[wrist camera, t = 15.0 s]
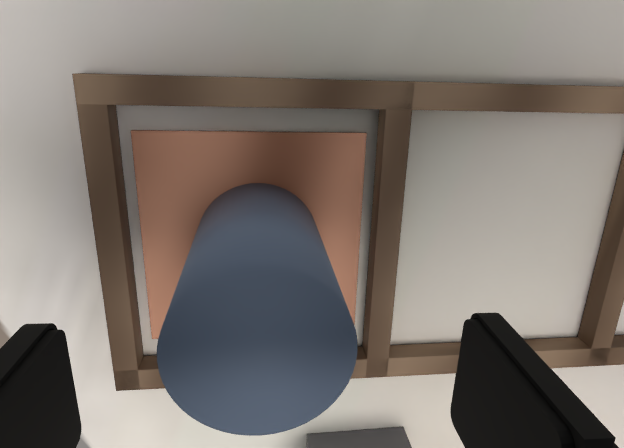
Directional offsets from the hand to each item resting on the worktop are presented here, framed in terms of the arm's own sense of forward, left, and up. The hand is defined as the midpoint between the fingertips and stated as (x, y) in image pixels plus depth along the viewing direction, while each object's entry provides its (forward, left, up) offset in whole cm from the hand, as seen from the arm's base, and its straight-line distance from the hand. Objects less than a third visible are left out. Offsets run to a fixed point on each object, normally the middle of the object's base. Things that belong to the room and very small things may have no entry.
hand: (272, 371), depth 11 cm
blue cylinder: (0, 0, -9) cm, 9 cm away
